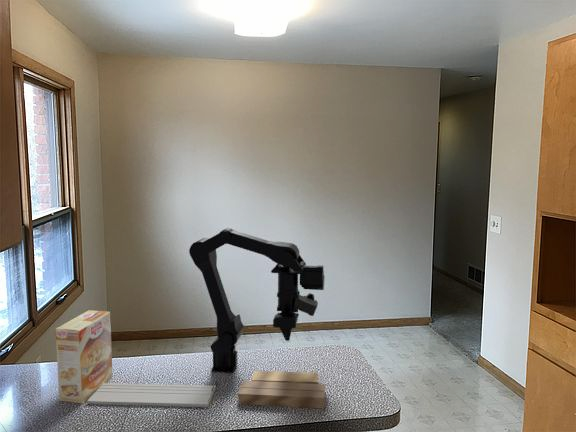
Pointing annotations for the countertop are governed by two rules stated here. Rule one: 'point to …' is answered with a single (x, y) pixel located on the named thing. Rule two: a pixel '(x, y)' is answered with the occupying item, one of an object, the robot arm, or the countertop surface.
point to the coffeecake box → (84, 355)
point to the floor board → (282, 394)
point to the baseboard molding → (153, 395)
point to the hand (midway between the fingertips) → (287, 340)
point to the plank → (286, 377)
